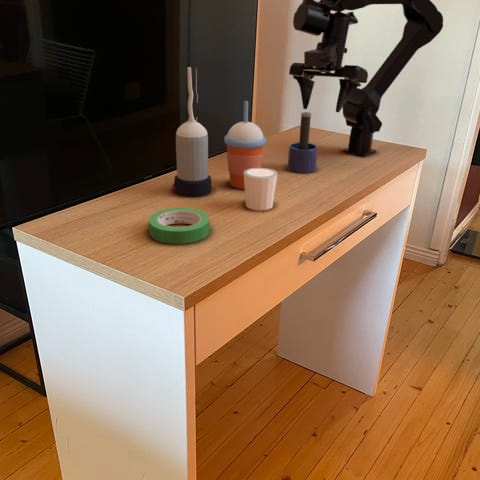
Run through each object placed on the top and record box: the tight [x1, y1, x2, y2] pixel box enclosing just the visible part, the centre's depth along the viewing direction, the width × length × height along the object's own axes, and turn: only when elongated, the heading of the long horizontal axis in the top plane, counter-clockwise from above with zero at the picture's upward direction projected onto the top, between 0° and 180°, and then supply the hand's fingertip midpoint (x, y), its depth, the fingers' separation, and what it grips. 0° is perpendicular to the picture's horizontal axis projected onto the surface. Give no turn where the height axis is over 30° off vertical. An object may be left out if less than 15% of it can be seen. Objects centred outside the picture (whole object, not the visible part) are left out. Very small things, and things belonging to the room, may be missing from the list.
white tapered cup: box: [244, 167, 278, 211], centre depth 118 cm, size 7×7×7 cm
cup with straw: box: [223, 100, 267, 190], centre depth 126 cm, size 9×9×18 cm
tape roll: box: [148, 207, 210, 245], centre depth 107 cm, size 11×11×3 cm
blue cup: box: [287, 142, 319, 174], centre depth 140 cm, size 7×7×6 cm
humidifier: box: [172, 66, 212, 198], centre depth 120 cm, size 8×8×25 cm
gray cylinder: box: [298, 111, 312, 150], centre depth 138 cm, size 2×2×12 cm
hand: (320, 110), depth 140 cm, fingers open, 9 cm apart
